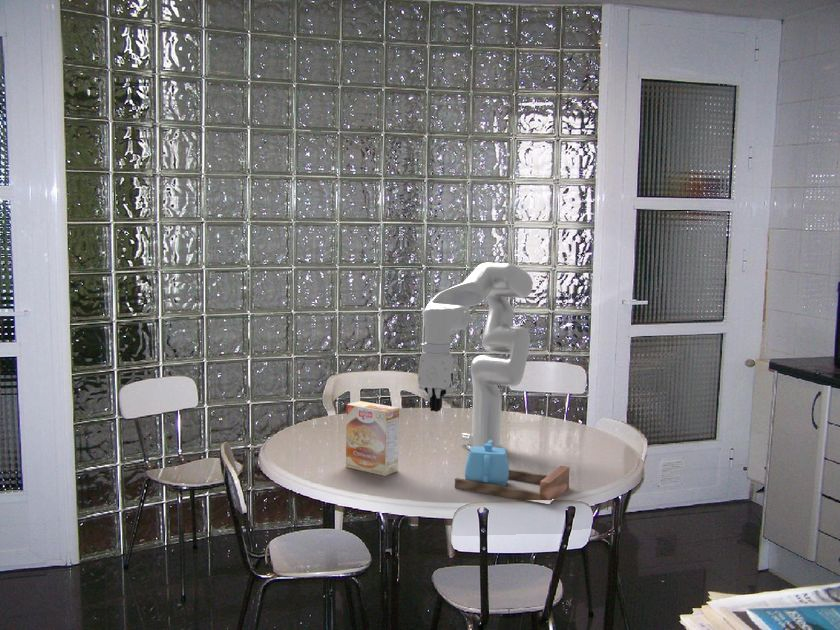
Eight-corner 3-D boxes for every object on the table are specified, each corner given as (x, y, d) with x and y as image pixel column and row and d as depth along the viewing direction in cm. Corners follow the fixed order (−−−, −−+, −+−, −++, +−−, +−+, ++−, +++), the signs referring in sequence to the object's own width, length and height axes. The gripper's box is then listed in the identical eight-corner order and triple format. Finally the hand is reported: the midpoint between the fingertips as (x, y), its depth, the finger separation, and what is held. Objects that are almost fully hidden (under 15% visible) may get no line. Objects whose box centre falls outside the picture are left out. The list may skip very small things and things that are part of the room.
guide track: (454, 487, 222) (455, 466, 221) (479, 472, 237) (480, 452, 237) (548, 505, 209) (549, 483, 209) (568, 487, 225) (569, 466, 224)
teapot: (509, 476, 235) (511, 438, 234) (507, 493, 217) (509, 451, 216) (467, 473, 236) (469, 435, 236) (462, 489, 219) (464, 448, 218)
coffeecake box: (344, 467, 239) (345, 404, 237) (359, 462, 245) (360, 400, 243) (384, 476, 231) (386, 411, 229) (398, 471, 237) (400, 406, 235)
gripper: (408, 348, 231) (407, 409, 233) (455, 352, 224) (453, 416, 226) (420, 345, 238) (419, 405, 240) (466, 349, 231) (464, 411, 233)
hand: (435, 410), depth 233 cm, fingers closed
